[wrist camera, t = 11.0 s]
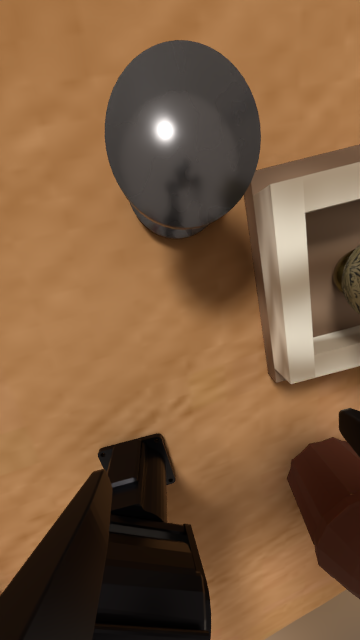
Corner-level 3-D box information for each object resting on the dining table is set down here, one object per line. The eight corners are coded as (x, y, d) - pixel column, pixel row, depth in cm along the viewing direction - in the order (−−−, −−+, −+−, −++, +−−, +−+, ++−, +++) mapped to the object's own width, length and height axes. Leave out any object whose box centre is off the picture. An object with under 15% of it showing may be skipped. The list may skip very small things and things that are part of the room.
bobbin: (229, 226, 17) (269, 208, 11) (143, 248, 17) (132, 242, 11) (212, 120, 15) (249, 21, 9) (114, 144, 15) (80, 62, 9)
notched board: (385, 343, 21) (435, 362, 17) (268, 374, 21) (292, 399, 17) (395, 141, 16) (467, 105, 12) (241, 179, 16) (267, 155, 12)
